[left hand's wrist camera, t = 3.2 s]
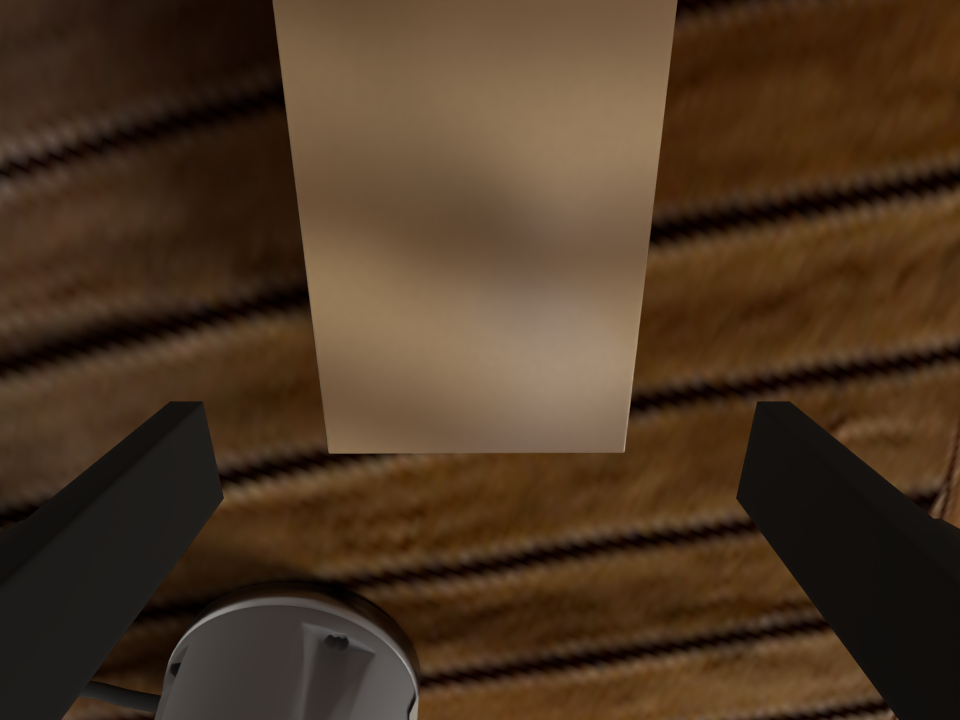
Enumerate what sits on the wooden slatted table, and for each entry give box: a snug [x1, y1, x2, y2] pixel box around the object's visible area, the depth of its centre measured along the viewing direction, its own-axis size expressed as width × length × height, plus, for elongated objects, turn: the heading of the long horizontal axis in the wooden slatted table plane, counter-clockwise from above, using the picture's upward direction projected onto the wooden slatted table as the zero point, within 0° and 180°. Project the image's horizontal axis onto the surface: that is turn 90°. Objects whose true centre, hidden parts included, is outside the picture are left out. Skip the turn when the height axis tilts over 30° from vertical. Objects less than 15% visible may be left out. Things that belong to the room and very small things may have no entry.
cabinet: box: [272, 0, 677, 453], centre depth 20 cm, size 16×11×8 cm, turn 0°
